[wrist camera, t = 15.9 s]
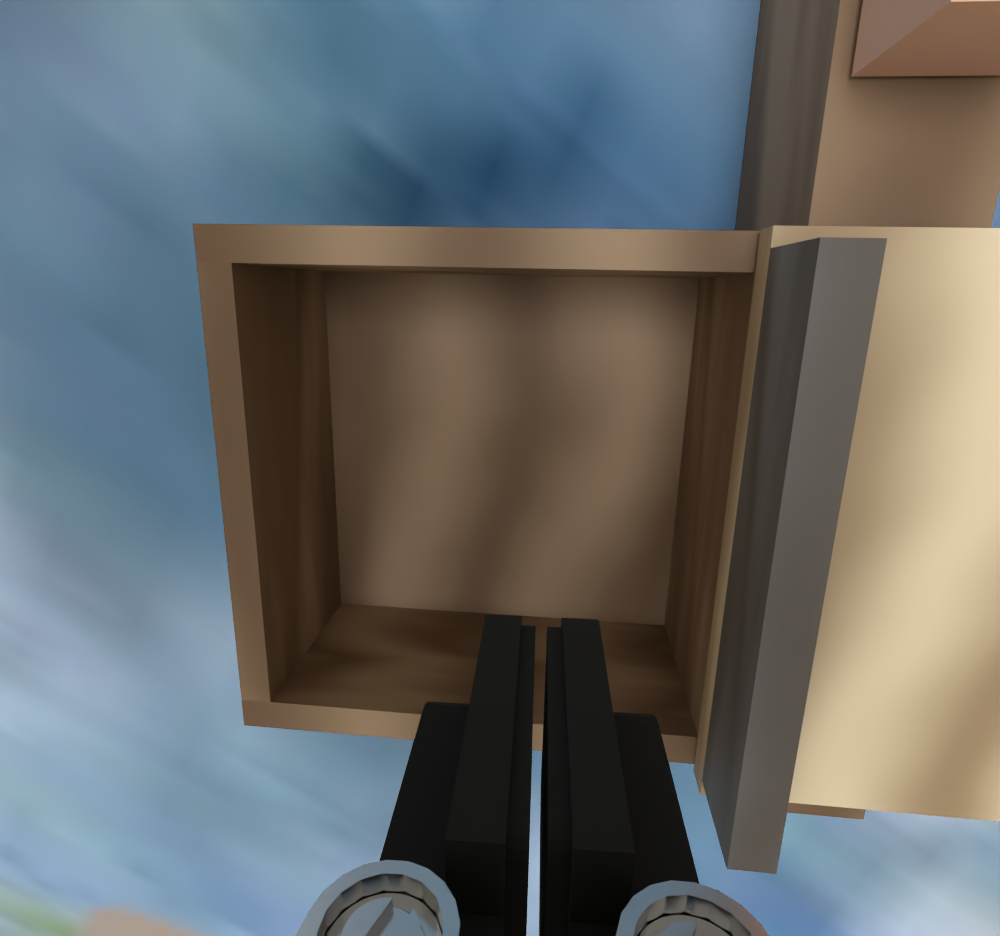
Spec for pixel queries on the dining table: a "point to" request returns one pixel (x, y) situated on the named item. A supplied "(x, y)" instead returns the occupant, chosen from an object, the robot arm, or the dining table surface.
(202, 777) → the dining table surface
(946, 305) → the toolbox lid
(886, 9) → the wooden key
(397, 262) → the toolbox
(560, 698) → the robot arm
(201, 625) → the dining table surface
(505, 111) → the dining table surface
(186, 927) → the dining table surface
